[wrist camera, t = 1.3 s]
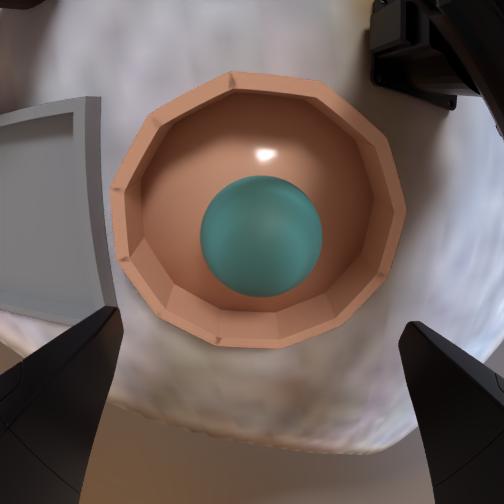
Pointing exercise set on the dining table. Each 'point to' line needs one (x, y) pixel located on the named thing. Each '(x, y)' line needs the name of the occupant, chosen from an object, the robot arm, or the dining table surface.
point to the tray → (53, 212)
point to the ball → (261, 236)
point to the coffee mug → (19, 4)
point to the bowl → (251, 164)
